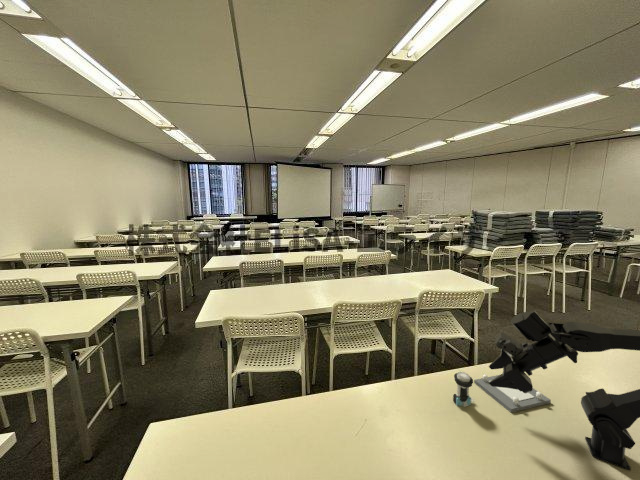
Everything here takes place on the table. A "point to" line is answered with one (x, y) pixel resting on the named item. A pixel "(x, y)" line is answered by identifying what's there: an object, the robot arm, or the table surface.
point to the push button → (462, 389)
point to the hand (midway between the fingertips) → (490, 375)
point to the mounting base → (512, 395)
